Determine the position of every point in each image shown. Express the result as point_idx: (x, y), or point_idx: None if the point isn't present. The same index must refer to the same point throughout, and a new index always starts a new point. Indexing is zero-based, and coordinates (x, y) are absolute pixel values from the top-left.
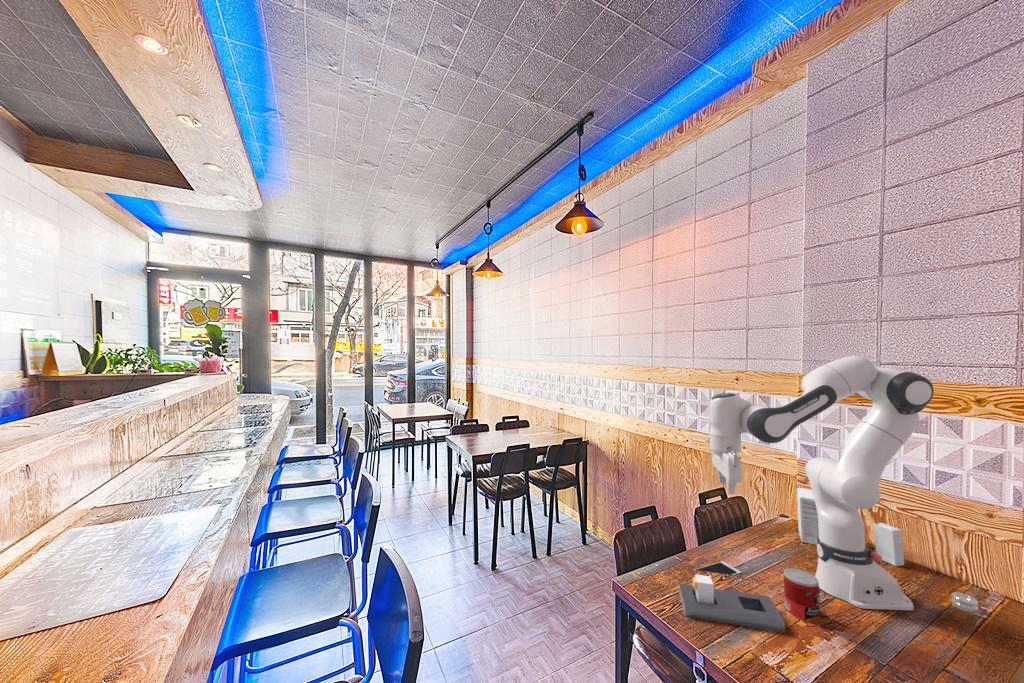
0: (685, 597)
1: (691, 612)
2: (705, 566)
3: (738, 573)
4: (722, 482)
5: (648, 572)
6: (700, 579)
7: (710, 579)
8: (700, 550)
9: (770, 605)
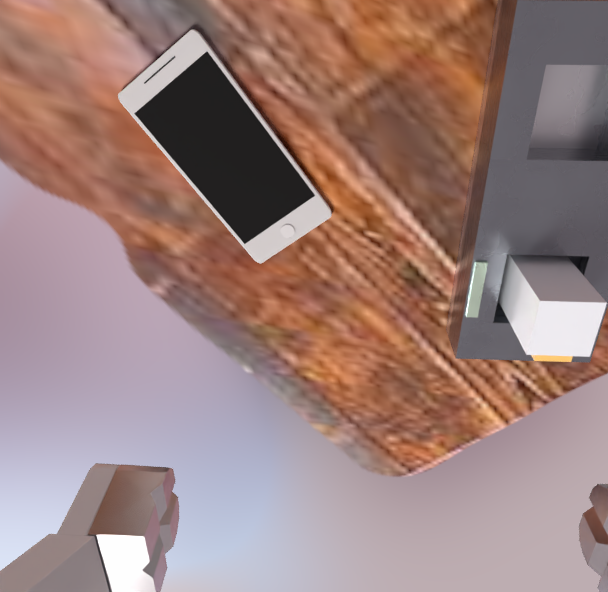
0: None
1: None
2: (202, 195)
3: (211, 48)
4: (168, 507)
5: (307, 399)
6: (567, 343)
7: (565, 304)
8: (37, 178)
9: (591, 25)
